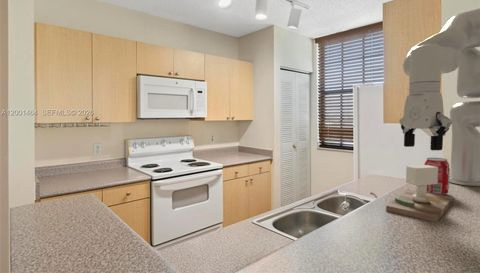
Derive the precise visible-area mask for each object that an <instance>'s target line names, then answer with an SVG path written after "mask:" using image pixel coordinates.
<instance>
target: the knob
mask: <svg viewBox="0 0 480 273" xmlns="http://www.w3.org/2000/svg"><path fill="white" fill-rule="evenodd" d="M405 172H406V174H405V183H407V184H410V185H413V186H415V191H416V194H413V195H412V200H414V201H417V202H423V203H428V202H430V201H432V202H435V203H437V204H443V201H442V200H439V199H436V198H433V197H431V196H427V195H426V193H427V185H430V184H437V182H438V167H435V166H430V165H424V164H422V165H421V164H420V165H419V164H418V165H407V166H406V170H405Z"/></svg>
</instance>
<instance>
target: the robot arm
mask: <svg viewBox="0 0 480 273" xmlns="http://www.w3.org/2000/svg"><path fill="white" fill-rule="evenodd" d="M477 48H480V8H476V9H472V10H469V11H463V12H460V13H457V14H456V15H454V16H452V17H451V18H450V19H449V20H448V21H447V22H446V23H445V25H444V26H443V27H442V28H441V30H440V32H438V33H436V34H434V35H432V36H430V37H428V38H426V39H425V40H423V41H420V42H419V43H418V44H416V45H415V46H413V47H412V48H411V49H410V51H409V52H408V53H407V54H406V56H405V58H404V60H403V64H402V68H403V69H402V70H403V73H404V74H405V75H406V76H408V77H409V79H408V80H409V81H408V82H409V84H408V85H409V86H408V95H407V96H406V98H405V103H404V106H403V108H404V109H403V117H402V118H400V119H399V124H400V129H401V130H402V134H403V135H404V136H403V147H405V148H407V147H409V148H410V147H411V148H412V147H413V148H414V147H415V144H416V142H415V141H416V133H415V131H416V130H417V129H419V130H420V129H421V130H422V129H424V130H426V129H429V131H430V132H431V134H432V135H431V136H430V147H429V149H430V151H443V147H444V146H443V142H444V141H443V140H444V137H445V136H446V133H447V132H448V131H449V130H450V128H451V152H450V154H451V155H450V156H451V157H450V173H449V183H451V184H456V185H462V186H467V187H468V186H470V187H480V131H479V130H478V128H480V100H476V101H463V102H462V101H461V102H456V103H455V104H453V105H452V106H451V108H450V110H449V117H447V116H446V115H445V114H444V112H445V111H444V101H443V100H444V99H443V94H442V92H441V85H442V84H441V81H442V74H449V73H453V72H454V71H456V70H457V79H456V94H457V95H458V97H459V98H460V99H461V98H462V99H480V50H479V49H477Z"/></svg>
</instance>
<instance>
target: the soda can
mask: <svg viewBox="0 0 480 273" xmlns="http://www.w3.org/2000/svg"><path fill="white" fill-rule="evenodd" d="M423 165H430V166H435V167H438V182H437V184H430V185H427V192H426V193H431V194H437V195H443V196H446V194H448V193H449V188H450V182H449V176H450V171H451V168H450V164H449V162H448V159H447V158H442V157H427V158H426V161H424V164H423Z"/></svg>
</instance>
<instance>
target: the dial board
mask: <svg viewBox="0 0 480 273" xmlns="http://www.w3.org/2000/svg"><path fill="white" fill-rule="evenodd" d="M413 194H416V190H413V189H408V190H406V191H405V192H404V193H402V194H401V195H399V196H398V197H394V199H393V200H392V201H391V202H389V203H388V204H387V205H386V206H385V209H386V211H387V212H390V213H394V214H398V215H403V216H408V217H413V218H417V219H421V220H426V221H430V222H434V223H438V221H439V220H440V219H441V218H442V216H443V215H444V214H445V212H446V211H447V209H449V207H450V206H451V204H453V202H454V197H453V196H449V195H437V194H431V193H427V192H426V195H427V196H431V197H433V198H436V199H439V200H442V201H443V204H437V203H435V202H432V201H430V202H428V203H423V202H417V201H414V200H412V195H413Z"/></svg>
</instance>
